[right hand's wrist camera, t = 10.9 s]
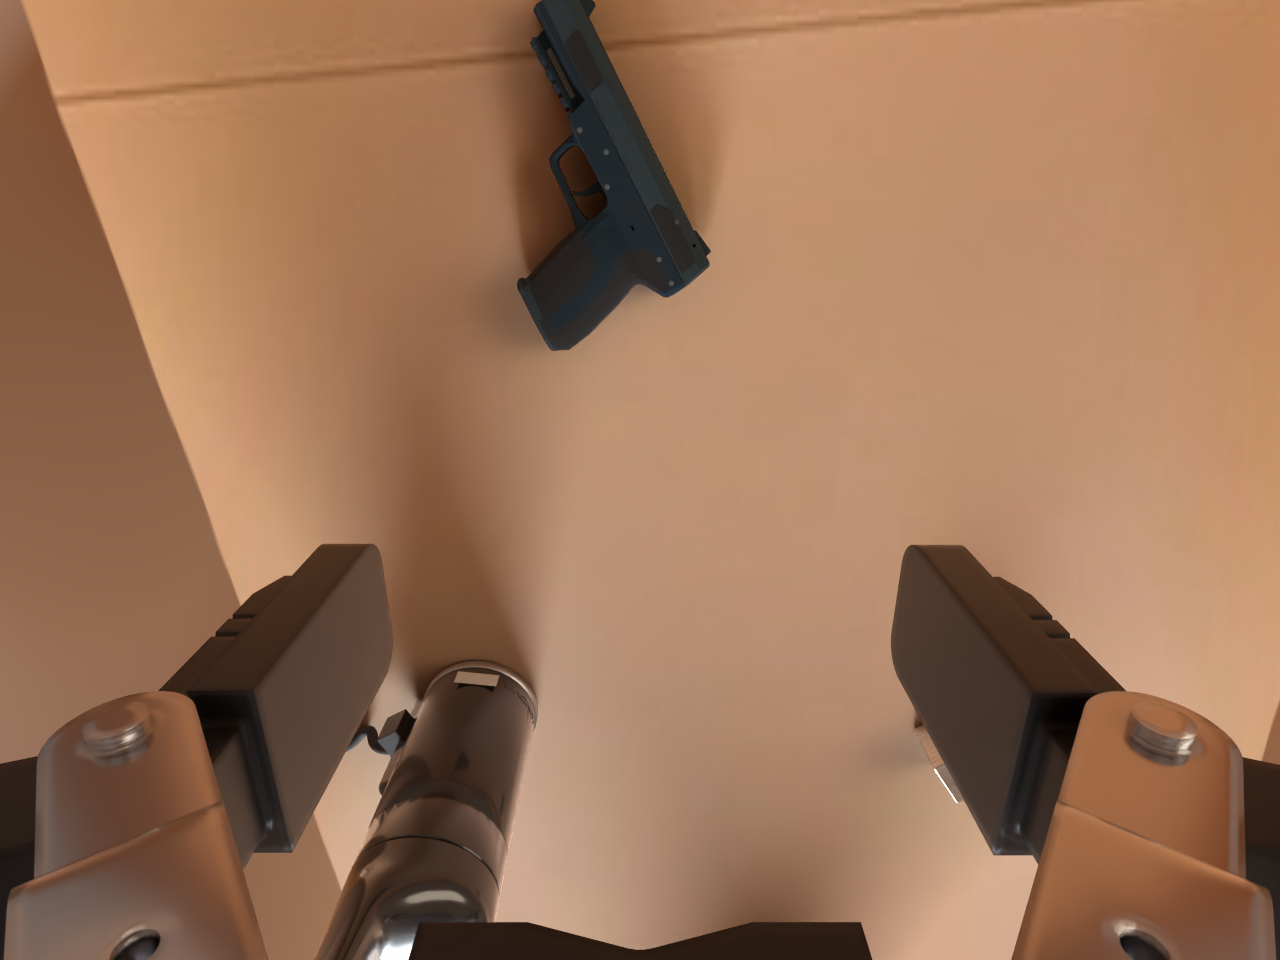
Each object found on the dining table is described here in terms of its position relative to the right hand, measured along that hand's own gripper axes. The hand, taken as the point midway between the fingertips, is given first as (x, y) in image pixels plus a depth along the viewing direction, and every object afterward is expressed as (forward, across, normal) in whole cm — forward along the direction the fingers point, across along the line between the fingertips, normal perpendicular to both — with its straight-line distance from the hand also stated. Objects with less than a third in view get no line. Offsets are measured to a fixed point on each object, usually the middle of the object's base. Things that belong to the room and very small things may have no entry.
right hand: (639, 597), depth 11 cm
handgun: (+40, +4, -6) cm, 40 cm away
